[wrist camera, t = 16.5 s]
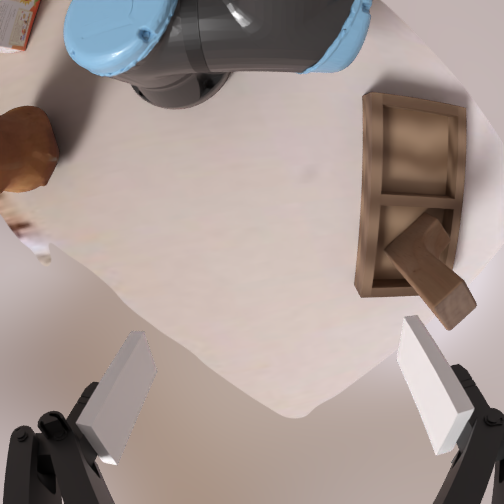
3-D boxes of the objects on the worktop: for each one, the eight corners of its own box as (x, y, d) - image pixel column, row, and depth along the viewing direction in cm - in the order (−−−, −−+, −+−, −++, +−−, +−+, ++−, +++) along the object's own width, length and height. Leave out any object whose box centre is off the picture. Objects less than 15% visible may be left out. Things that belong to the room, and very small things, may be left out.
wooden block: (424, 210, 43) (493, 250, 26) (438, 232, 44) (505, 279, 27) (381, 249, 45) (432, 308, 28) (397, 270, 46) (449, 333, 29)
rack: (362, 96, 40) (371, 91, 35) (451, 109, 39) (466, 107, 34) (354, 284, 49) (360, 297, 45) (435, 282, 48) (447, 294, 44)
